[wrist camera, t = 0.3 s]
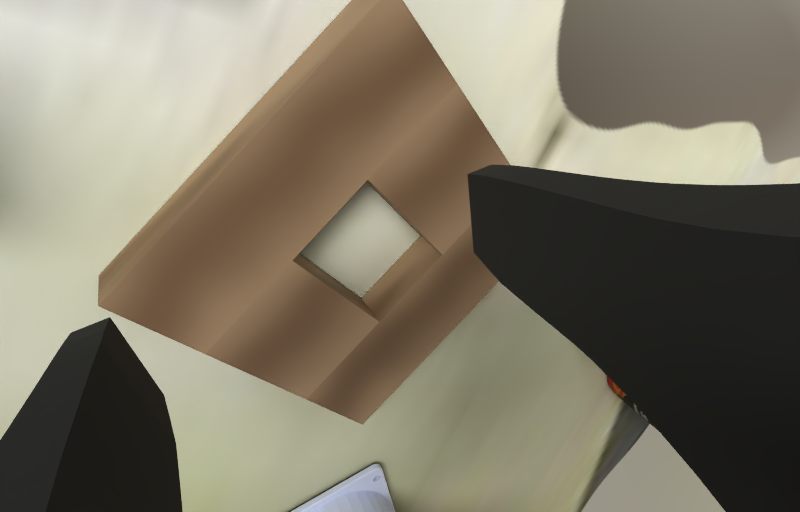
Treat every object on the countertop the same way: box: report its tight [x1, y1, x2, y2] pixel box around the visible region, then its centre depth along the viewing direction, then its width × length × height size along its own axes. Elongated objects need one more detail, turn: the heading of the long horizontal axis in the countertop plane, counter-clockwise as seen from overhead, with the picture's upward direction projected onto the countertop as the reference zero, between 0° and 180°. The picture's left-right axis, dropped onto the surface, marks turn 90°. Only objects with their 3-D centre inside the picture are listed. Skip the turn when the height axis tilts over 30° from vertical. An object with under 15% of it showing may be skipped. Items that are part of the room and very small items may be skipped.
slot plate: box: [98, 0, 510, 424], centre depth 21 cm, size 14×14×2 cm
